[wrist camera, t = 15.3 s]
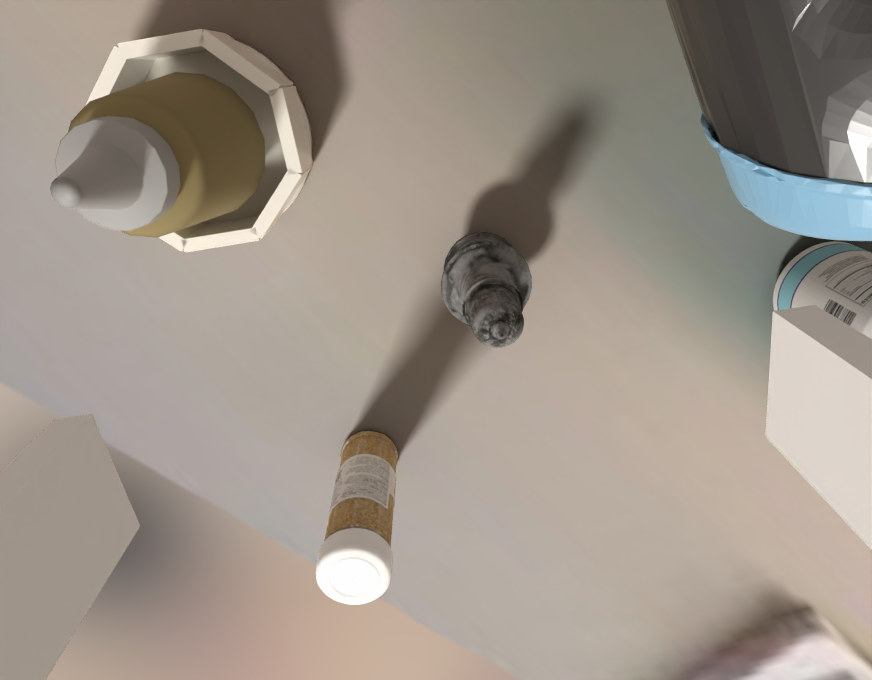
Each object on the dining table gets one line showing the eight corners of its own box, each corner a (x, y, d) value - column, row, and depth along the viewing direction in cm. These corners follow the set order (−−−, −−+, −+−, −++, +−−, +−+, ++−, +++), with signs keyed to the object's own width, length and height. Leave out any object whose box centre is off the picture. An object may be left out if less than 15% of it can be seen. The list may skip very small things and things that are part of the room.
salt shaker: (431, 238, 43) (435, 296, 32) (516, 220, 43) (549, 272, 32) (448, 316, 46) (457, 396, 34) (529, 300, 45) (564, 375, 34)
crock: (175, -11, 37) (142, -21, 33) (348, 117, 40) (339, 123, 36) (88, 160, 41) (48, 172, 36) (253, 266, 44) (234, 288, 39)
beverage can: (811, 346, 47) (930, 431, 36) (745, 297, 45) (849, 371, 34) (884, 272, 45) (1034, 338, 34) (817, 218, 43) (953, 269, 32)
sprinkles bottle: (383, 484, 51) (371, 617, 39) (331, 463, 50) (302, 592, 38) (408, 441, 50) (404, 565, 37) (355, 418, 49) (332, 538, 36)
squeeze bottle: (290, 93, 39) (193, 112, 22) (266, 220, 42) (166, 320, 25) (155, 53, 38) (-53, 40, 21) (141, 186, 41) (-50, 266, 24)
